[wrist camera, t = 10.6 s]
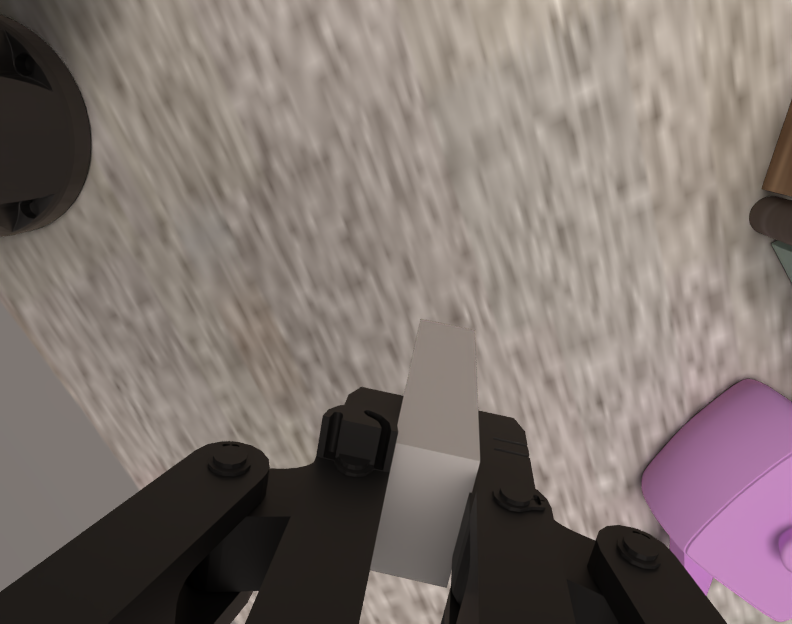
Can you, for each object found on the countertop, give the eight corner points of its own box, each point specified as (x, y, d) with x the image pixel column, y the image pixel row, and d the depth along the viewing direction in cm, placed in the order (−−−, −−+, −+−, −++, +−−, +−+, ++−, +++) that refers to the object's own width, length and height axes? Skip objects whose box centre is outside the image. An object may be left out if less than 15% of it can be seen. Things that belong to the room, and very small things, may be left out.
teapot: (696, 583, 48) (752, 701, 38) (590, 505, 47) (619, 606, 37) (891, 421, 42) (1014, 512, 32) (774, 330, 41) (864, 395, 32)
